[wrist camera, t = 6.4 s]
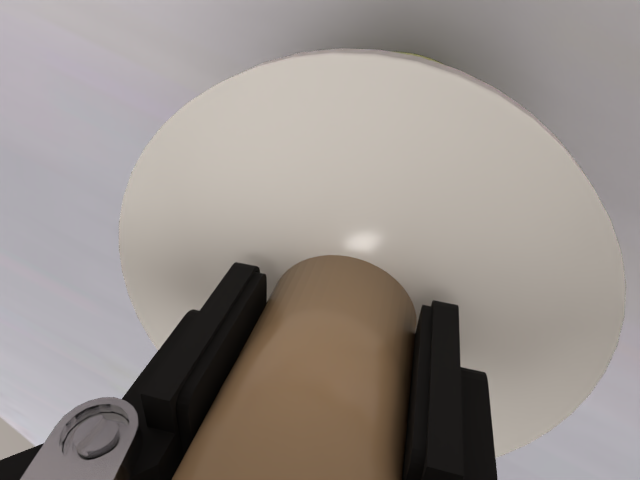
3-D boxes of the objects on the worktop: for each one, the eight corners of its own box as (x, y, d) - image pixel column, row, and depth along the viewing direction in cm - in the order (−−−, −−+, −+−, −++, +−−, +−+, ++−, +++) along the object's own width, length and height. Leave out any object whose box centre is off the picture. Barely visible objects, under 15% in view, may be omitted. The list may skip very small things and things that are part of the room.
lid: (725, 85, 8) (1542, 442, 2) (520, 481, 14) (571, 843, 8) (102, 20, 10) (-401, 102, 4) (167, 392, 16) (9, 634, 10)
